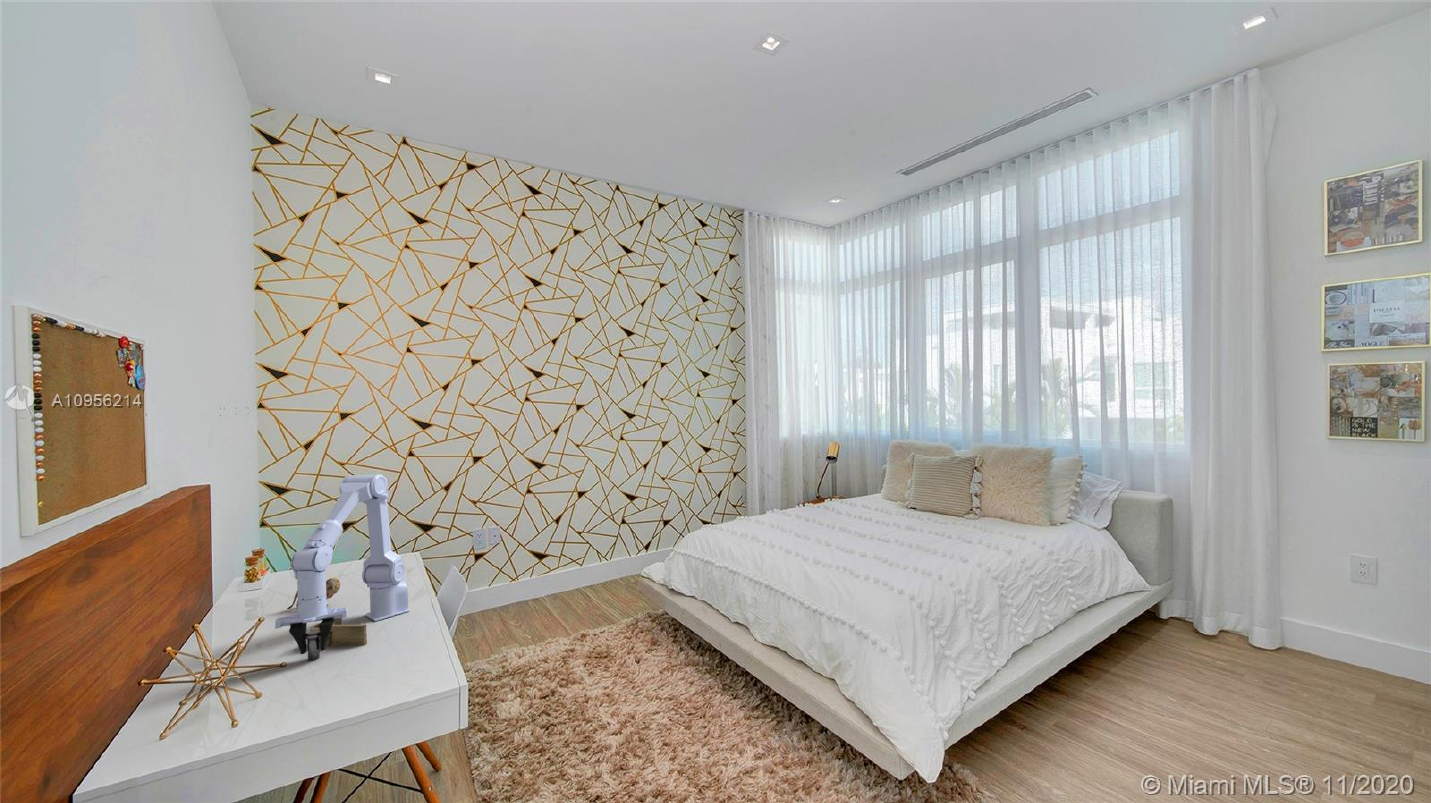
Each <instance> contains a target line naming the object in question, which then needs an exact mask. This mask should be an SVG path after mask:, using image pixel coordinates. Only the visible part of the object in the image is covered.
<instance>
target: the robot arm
mask: <svg viewBox="0 0 1431 803" xmlns="http://www.w3.org/2000/svg"><path fill="white" fill-rule="evenodd" d="M389 497H390V496H389V484H388V478H387V477H385V476H384V475H383V474H378V473H377V474H364V475H363V474H360V475H359V474H357V475H356V474H355V475H353V474H348V475H346V476H345V477H344V478H342V481H341V482H340V485H339V497H338V499H337V501H336V502H335V503H334V504H335V505H334V506H333V508H332V509H331V511H330V514H329V516H328V518H327V520H323V521H321V522H320V523H318V525H317V527H316V528H315V530H314V532H313V533H312V535H311V536H310V537H309V539H308V540H307V542H306V544H305V545H304V547H302V548H300V549H298V550H297V551H296V552H294V554H293V555H292V558H291V562H290V563H289V565H290V569H291V571H293V573H294V578H295V580H296V581H297V582H296V584H297V587H296V588H297V591H298V597H297V601H298V608H297V613H296V614H295V613H294V614H291V615H288V616H282V617H277V619H275V621H274V629H280V628H283V627H289V630H288V632H289V634H290V635H291V636H292V638H293V639H294V640H295V642H296V643H297V646H298V649H299V651H300V655H305V653H306V652H307V651H308V650H307V639H304V635H305V634H306V633H307V625H308V624H309V623H314V622H319V623H320V624H319V628H320V636H321V644H320V652H324V651H325V650H326V648H327V647H326V643H327V639H328V635H329V632H330V629H331V627H332V625H333V623H334V620H335V618H341V617H342V619H345V618H346V619H347V618H348V616H349V607H339V608H327V603H328V602H327V600H328V599H327V600H326V581H327V569H328V567H329V566H330V565H331V563H332V560H333V553H334V547H335V546H336V544H337V542H338V541H339V539H340V537H341V535H342V534H343V531H344V529H343V526H342V524H343V523H344V522H345V520H346V519H347V517H348V516H349V515H350V513H351V512H352V511H353V509H354V508H355V507H356V506H357V504H358V503H363V504H365V506H366V517H367V528H368V540H369V549H370V550H369V551H370V556H368V557H367V558H366V559H365V560H364V561H363V568H362V573H361V578H362V582H363V583H364V584H366V587H367V588H369V607H370V609H369V610H370V611H369V612H367V613H365V614H364V616H365V617H367V618H368V619H370V620H372V621H373V622H377V621H380V620H384V619H385V620H386V619H389V618H390V617H395V616H397V615H401V614H405V613H408V612H410V609H409V590H408V585H407V583H406V580H403V578H404V576H405V571H406V570H405V565H404V564H403V561H402V556H401V555H399V554H398V553H396V552H395V551H393V550H392V542H391V532H390V520H389V518H390V517H389V506H388V499H389ZM307 623H308V624H307Z"/></svg>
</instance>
